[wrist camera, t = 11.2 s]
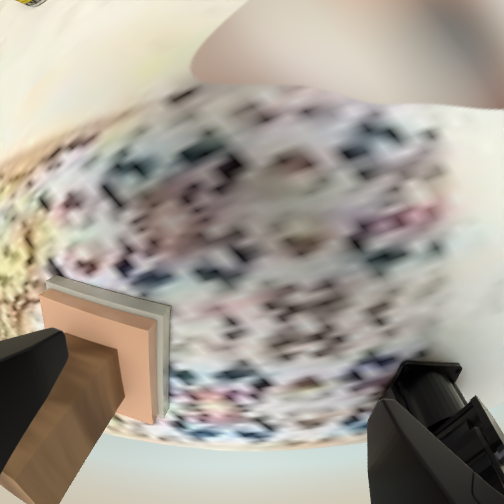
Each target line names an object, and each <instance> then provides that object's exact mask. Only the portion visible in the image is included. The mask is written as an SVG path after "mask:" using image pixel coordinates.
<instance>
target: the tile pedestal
mask: <svg viewBox="0 0 504 504" xmlns="http://www.w3.org/2000/svg"><path fill="white" fill-rule="evenodd" d="M46 288H47V291H45V292H43V293H42V294H40V295H39V296H40V303H41V309H42V315H43V321H44V326H45V329H47V328H51V327H54V328H57V329H59V330H62V331H63V332H64V333H65V332H66V333H68V334H71V335H74V336H77V337H80V338H83V339H86V340H89V341H92V342H95V343H98V344H102V345H105V346H108V347H111V348H115V349H117V351H118V358H119V364H120V371H121V377H122V383H123V388H124V393H125V398H124V400H123V401H122V403H121V404H120V406H119V408H118V409H117V411H116V412H117V413H120V414H122V415H125V416H128V417H131V418H134V419H136V420H139V421H142V422H145V423H148V424H152V425H153V424H154V422H155V420H156V418H157V417H160V418H164V417H165V415H166V413H167V411H168V409H169V334H170V309H171V306H166V305H162V304H158V303H154V302H150V301H146V300H142V299H138V298H135V297H131V296H127V295H123V294H119V293H116V292H112V291H109V290H105V289H101V288H98V287H94V286H91V285H88V284H84V283H81V282H77V281H74V280H71V279H68V278H64V277H61V276H58V275H55V276H54V277H52V278H50V279H49V280H47V281H46Z"/></svg>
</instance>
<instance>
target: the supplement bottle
mask: <svg viewBox="0 0 504 504" xmlns="http://www.w3.org/2000/svg"><path fill="white" fill-rule="evenodd" d="M16 1H18V2H21V3H23V4H25V5H28V6H37V5H39V4H41V3H43V2H44V1H45V0H16Z"/></svg>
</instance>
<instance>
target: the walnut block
mask: <svg viewBox="0 0 504 504" xmlns="http://www.w3.org/2000/svg"><path fill="white" fill-rule="evenodd" d="M64 334H65V336H66V342H67V347H68V352H69V357H68V360H67V363H66V364H65V366H64V368H63V370H62V372H61V373H60V375H59V377H58V379H57V381H56V383H55V385H54V387H53V388H52V390H51V392H50V394H49V396H48V398H47V399H46V401H45V402H44V404H43V405H42V407H41V408H40V410H39V412H38V413H37V415H36V416H35V418H34V419H33V421H32V422H31V424H30V426H29V427H28V429H27V430H26V432H25V434H24V435H23V437H22V438H21V440H20V442H19V443H18V445H17V447H16V448H15V450H14V452H13V453H12V455H11V457H10V459H9V460H8V462H7V464H6V466H5V467H4V469H3V471H2V473H1V475H0V485H2V486H3V487H4V488H6V489H7V490H8V491H10V492H11V493H13V494H14V495H15V496H16V497H18V498H20V499H21V500H22V501H24V502H25V503H27V504H59V503H60V502H61V500H62V498H63V497H64V495H65V493H66V491H67V490H68V488H69V486H70V485H71V483H72V481H73V480H74V478H75V477H76V475H77V473H78V472H79V470H80V468H81V467H82V465H83V463H84V462H85V460H86V458H87V457H88V455H89V454H90V452H91V450H92V449H93V447H94V446H95V444H96V442H97V440H98V439H99V438H100V436H101V434H102V433H103V431H104V430H105V428H106V426H107V425H108V423H109V422H110V420H111V419H112V417H113V415H114V414H115V412H116V411H117V409H118V408H119V406H120V404H121V403H122V401H123V400H124V398H125V393H124V388H123V383H122V377H121V371H120V364H119V358H118V351H117V349H115V348H111V347H108V346H105V345H102V344H98V343H95V342H92V341H89V340H86V339H83V338H80V337H77V336H74V335H71V334H68V333H66V332H65V333H64Z"/></svg>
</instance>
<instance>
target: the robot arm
mask: <svg viewBox="0 0 504 504" xmlns="http://www.w3.org/2000/svg"><path fill="white" fill-rule="evenodd" d="M68 357H69V352H68V347H67V342H66V336H65V334H64V332H63V331H62V330H59V329H57V328H54V327H51V328H47V329H43V330H40V331H36V332H32V333H29V334H25V335H21V336H17V337H14V338H10V339H6V340H2V341H0V475H1V473H2V471H3V469H4V467H5V466H6V464H7V462H8V460H9V459H10V457H11V455H12V453H13V452H14V450H15V448H16V447H17V445H18V443H19V442H20V440H21V438H22V437H23V435H24V434H25V432H26V430H27V429H28V427H29V426H30V424H31V422H32V421H33V419H34V418H35V416H36V415H37V413H38V412H39V410H40V408H41V407H42V405H43V404H44V402H45V401H46V399H47V398H48V396H49V394H50V392H51V390H52V388H53V387H54V385H55V383H56V381H57V379H58V377H59V375H60V373H61V372H62V370H63V368H64V366H65V364H66V363H67V360H68ZM406 367H407V368H406ZM461 371H462V367H461V366H460V364H450V363H429V362H413V361H406V362H404V363H402V364H401V366H400V368H399V370H398V372H397V374H396V376H395V378H394V380H393V382H392V384H391V385H390V386H389V388H388V390H387V392H386V394H385V396H384V397H383V399H381V400H379V401H378V403H377V405H376V406H375V408H374V410H373V412H372V414H371V415H370V417H369V419H368V423H367V447H368V479H369V488H370V498H371V504H504V434H503V432H502V431H501V429H500V427H499V426H498V424H497V423H496V421H495V419H494V418H493V416H492V415H491V414H490V412H489V411H488V410H487V408H486V407H485V406H484V405H483V403H482V402H481V401H480V400H479V398H478V397H477V396H476V395H475V396H474V397H473V398H472V399H471V400H470V402H469V403H468V404H467V402H466V400H465V398H464V397H463V395H462V393H461V392H460V390H459V389H458V387H457V385H456V384H455V381H456V380H457V378H458V376H459V374H460V373H461Z"/></svg>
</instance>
